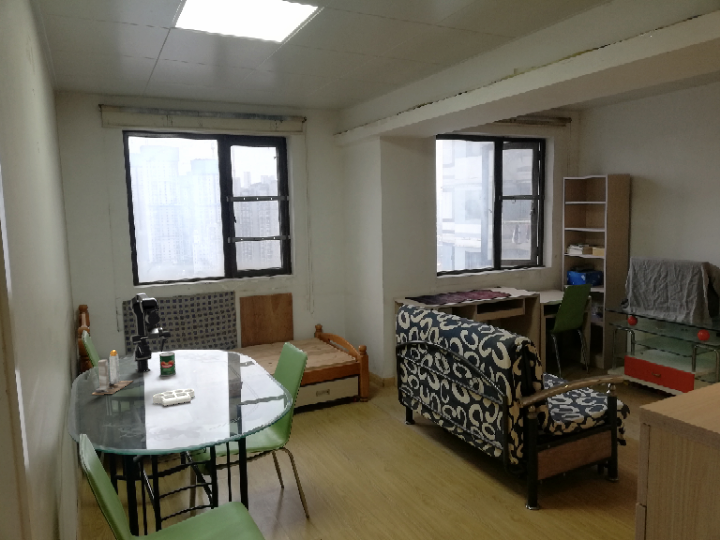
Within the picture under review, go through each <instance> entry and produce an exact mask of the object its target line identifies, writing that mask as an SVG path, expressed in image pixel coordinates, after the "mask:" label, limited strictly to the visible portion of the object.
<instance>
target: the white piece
mask: <svg viewBox="0 0 720 540" xmlns="http://www.w3.org/2000/svg"><path fill="white" fill-rule="evenodd" d="M191 397H193V398H194V397H195V389H194V388H186V389H185V388H184V389H174V390H166V391H164V392H162V393H156V394H154V395H152V402H154V403H153V404H155V403H158V404H157V405H159V403H162V404H161V405H162V406H163V405H164V406H163V407H166V406H167V405H168V406H173V404H174V405H178V403H180V404H185V403H189V402H190V401H191V399H192V398H191ZM184 402H185V403H184ZM190 403H191V402H190Z"/></svg>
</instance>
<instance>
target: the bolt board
mask: <svg viewBox="0 0 720 540" xmlns="http://www.w3.org/2000/svg"><path fill="white" fill-rule="evenodd" d="M97 366H98V380H99V381H98V383H99V387H98V388H96V389H94V392H92V393H91V395H92V396H102V395H103V396H104V394H113V393H114V394H116V393H117V392H116V391H118V390H119V391H121V390H123V389H124V388H125V386H126V387H128V386H129V385H131V384H132V383H134V380H120V382H119V383H117V384H111V385H109V381H110V379H109V378H110V377H109V375H110V374H109V363H108V359H100V360H98V361H97ZM130 383H131V384H130ZM120 389H121V390H120ZM119 391H118V392H119ZM115 392H116V393H115ZM114 394H113V395H114Z"/></svg>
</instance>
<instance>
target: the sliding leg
mask: <svg viewBox="0 0 720 540" xmlns="http://www.w3.org/2000/svg"><path fill="white" fill-rule="evenodd" d="M108 359H109V371H110V374H109V375H110V380H109V385H111V384H117V383H119V382H120V381H121V377H120V365H119V364H120V362H119V361H120V360H119V354H118V351H117V350H115V349H112V350H111V351H110V352H109V358H108Z"/></svg>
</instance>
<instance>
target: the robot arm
mask: <svg viewBox="0 0 720 540" xmlns="http://www.w3.org/2000/svg"><path fill="white" fill-rule="evenodd" d="M129 305H130V309H131V312H132V313H133V314H134V316H135V326H136V334H132V335H130V339H129V340H130V342H132V343H133V344H135V345H134V350H133V356H132V359H133V361H134V362H136V369H135V372H137V373H143V372H149V371H151V369H150V368H149V360H152V359H153V358H152V354H153V351H152V350H151V349H152V348H150V345H149V344H148V343H147V340H148V339H149V340H153V339H159V345H160V346H159V347H160V348H159V349H160V353H163V349H164V345H165V343H166V342H167V340H169V338H172V333H171V332H170V331H168V330H164V331H163V328H162V327H157V324H158V323H159V322H160V320H161V317H160V315H159V314H158V313H157V312H159V311H160V307H159V302H158V301H157V299H156V298H154V297H149V296H148V295H147V294H146V293H145V292H139V293H138V292H137V293H135V295H134V297H133V298H131V300H130V304H129Z"/></svg>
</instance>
